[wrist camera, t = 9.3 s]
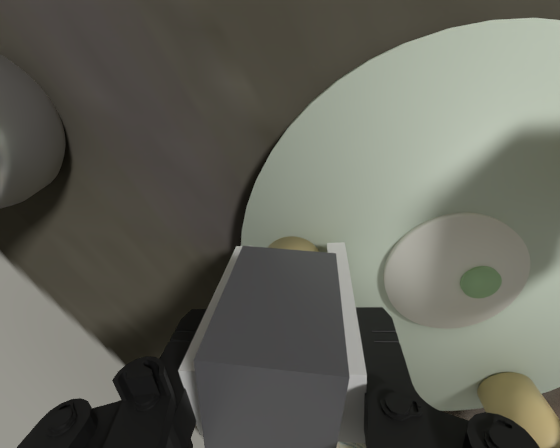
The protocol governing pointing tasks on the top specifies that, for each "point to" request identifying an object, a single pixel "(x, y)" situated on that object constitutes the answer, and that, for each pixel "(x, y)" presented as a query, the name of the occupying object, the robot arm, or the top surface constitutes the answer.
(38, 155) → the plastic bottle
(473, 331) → the base
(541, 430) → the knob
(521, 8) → the top surface
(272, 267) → the dark grey rectangular block
